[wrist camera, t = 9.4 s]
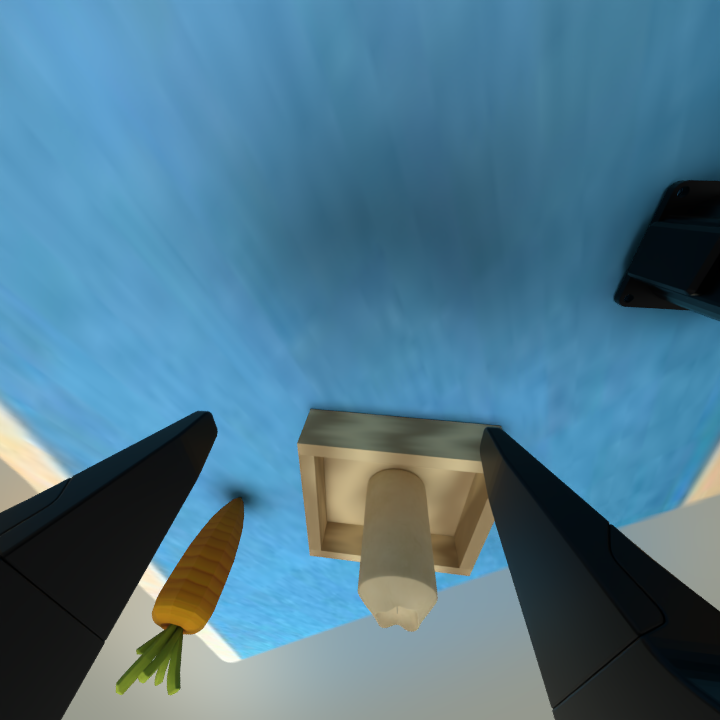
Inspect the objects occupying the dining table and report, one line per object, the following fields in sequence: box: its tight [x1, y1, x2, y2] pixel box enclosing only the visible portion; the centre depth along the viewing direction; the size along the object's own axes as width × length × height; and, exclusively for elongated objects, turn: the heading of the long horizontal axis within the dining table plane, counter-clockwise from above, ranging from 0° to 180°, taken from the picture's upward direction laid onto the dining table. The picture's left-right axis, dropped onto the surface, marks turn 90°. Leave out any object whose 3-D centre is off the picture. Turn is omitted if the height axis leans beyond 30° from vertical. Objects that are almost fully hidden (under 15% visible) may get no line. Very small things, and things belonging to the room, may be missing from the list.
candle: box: [358, 469, 438, 632], centre depth 23 cm, size 6×6×10 cm
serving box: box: [297, 409, 503, 576], centre depth 26 cm, size 16×16×4 cm
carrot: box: [116, 497, 244, 695], centre depth 26 cm, size 5×5×15 cm
